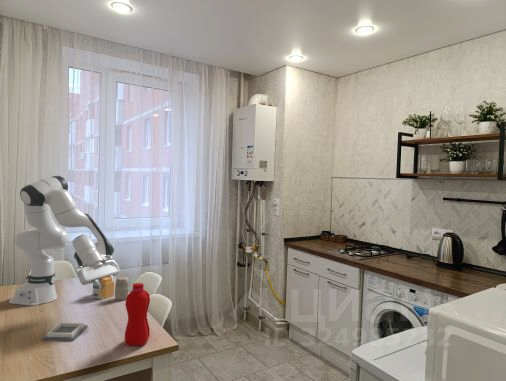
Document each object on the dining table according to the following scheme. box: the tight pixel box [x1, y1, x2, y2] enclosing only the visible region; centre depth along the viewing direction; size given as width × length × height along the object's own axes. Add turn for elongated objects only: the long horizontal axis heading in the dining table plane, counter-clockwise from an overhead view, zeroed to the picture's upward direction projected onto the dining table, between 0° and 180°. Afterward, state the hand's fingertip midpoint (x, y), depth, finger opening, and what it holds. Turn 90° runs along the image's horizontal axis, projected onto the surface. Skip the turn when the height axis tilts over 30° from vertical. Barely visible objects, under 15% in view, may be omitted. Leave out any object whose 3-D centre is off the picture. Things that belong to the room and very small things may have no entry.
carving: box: [114, 276, 130, 301], centre depth 194 cm, size 6×8×12 cm
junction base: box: [41, 321, 88, 342], centre depth 151 cm, size 13×13×2 cm
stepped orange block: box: [99, 277, 115, 300], centre depth 163 cm, size 5×5×9 cm
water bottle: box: [124, 282, 151, 347], centre depth 146 cm, size 9×11×25 cm
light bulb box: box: [92, 276, 115, 300], centre depth 197 cm, size 11×7×11 cm, turn 168°
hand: (107, 286), depth 163 cm, fingers closed on stepped orange block, 5 cm apart
